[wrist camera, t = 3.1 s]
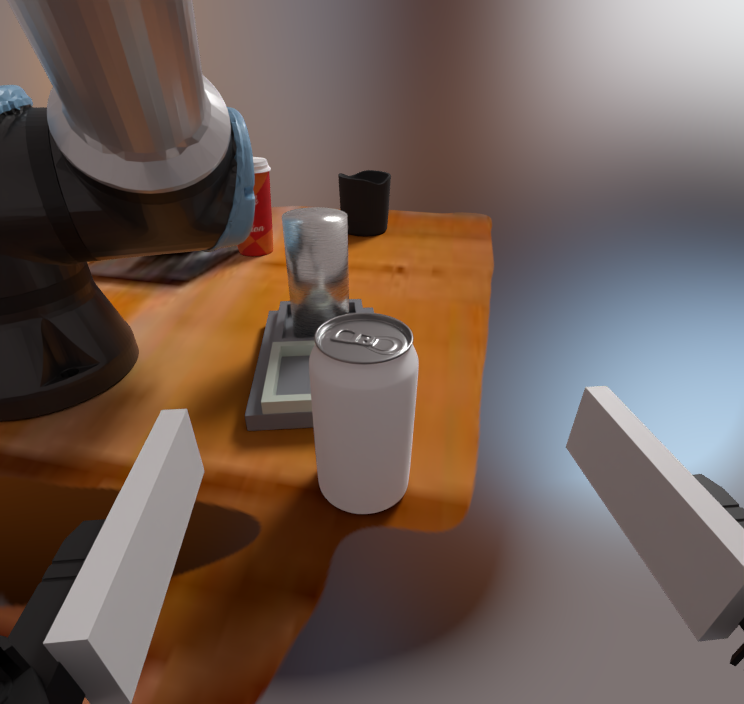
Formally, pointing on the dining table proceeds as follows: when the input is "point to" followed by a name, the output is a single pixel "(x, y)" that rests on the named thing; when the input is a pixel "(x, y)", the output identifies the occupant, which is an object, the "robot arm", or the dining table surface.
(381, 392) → the can
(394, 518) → the dining table surface
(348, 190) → the pen holder
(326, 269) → the seated cylinder
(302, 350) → the pocket board
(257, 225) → the paper cup
